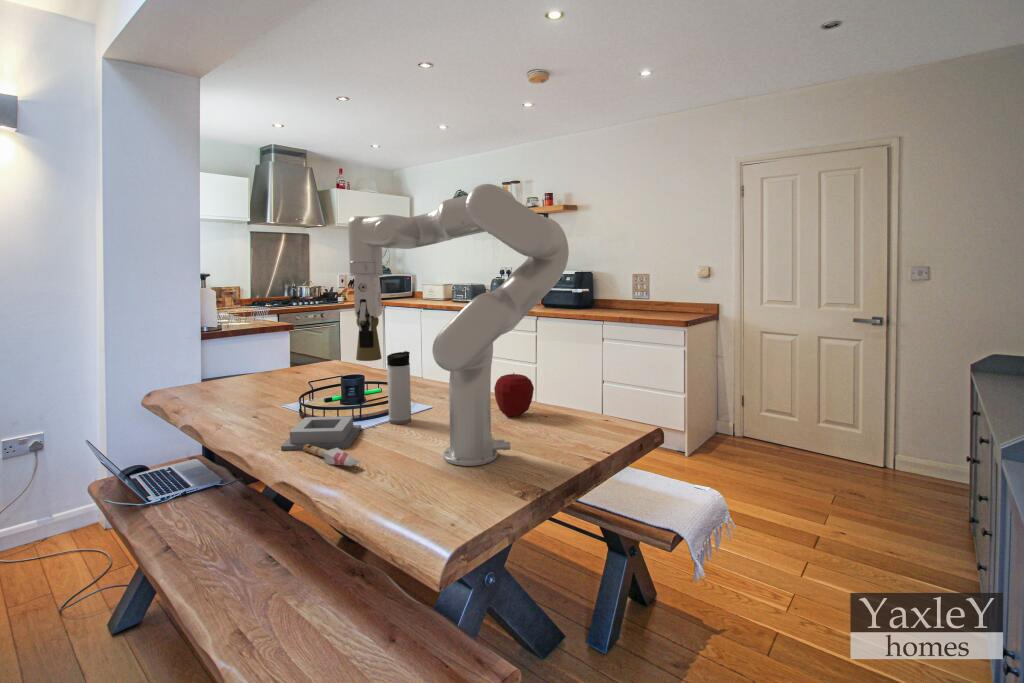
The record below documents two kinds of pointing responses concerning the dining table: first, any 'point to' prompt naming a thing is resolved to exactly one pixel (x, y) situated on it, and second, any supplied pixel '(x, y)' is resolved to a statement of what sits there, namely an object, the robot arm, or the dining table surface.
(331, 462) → the paintbrush
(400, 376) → the travel mug
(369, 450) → the dining table surface
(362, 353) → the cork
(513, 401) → the apple
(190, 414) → the dining table surface
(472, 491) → the dining table surface
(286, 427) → the dining table surface
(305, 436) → the holder
